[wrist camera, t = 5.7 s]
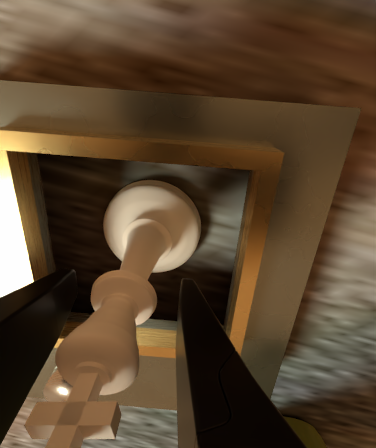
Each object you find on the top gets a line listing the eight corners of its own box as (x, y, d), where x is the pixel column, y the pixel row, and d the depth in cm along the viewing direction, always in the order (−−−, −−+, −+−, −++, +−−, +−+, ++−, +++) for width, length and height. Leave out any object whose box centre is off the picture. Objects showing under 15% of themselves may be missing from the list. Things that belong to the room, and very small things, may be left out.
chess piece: (96, 183, 13) (-171, 379, 4) (197, 175, 12) (183, 372, 3) (116, 269, 15) (-22, 532, 6) (204, 264, 14) (208, 541, 5)
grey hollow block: (320, 108, 11) (396, 108, 7) (254, 369, 18) (271, 452, 13) (-11, 82, 11) (-139, 66, 7) (46, 351, 18) (-2, 427, 13)
